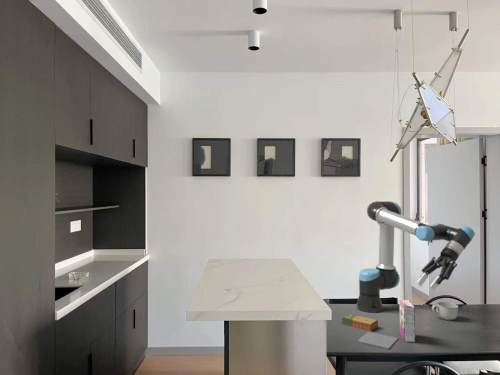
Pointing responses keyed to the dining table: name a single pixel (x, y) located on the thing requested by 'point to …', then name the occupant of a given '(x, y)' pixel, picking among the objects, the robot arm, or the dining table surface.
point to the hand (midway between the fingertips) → (425, 286)
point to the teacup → (446, 310)
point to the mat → (378, 340)
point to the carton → (360, 322)
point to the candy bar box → (407, 320)
